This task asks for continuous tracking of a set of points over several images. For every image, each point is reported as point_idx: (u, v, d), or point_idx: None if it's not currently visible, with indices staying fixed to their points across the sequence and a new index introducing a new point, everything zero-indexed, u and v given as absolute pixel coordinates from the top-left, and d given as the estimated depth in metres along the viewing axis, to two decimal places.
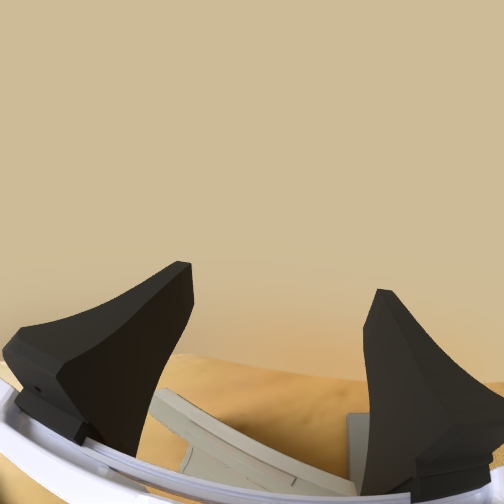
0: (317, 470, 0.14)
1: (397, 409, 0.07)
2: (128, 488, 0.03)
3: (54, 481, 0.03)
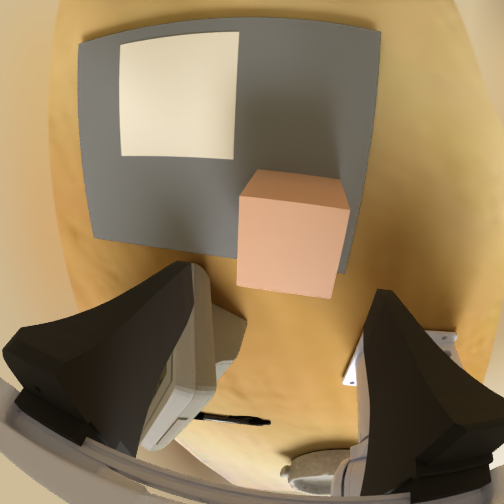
0: (166, 405, 0.16)
1: (397, 409, 0.07)
2: (128, 488, 0.03)
3: (54, 481, 0.03)
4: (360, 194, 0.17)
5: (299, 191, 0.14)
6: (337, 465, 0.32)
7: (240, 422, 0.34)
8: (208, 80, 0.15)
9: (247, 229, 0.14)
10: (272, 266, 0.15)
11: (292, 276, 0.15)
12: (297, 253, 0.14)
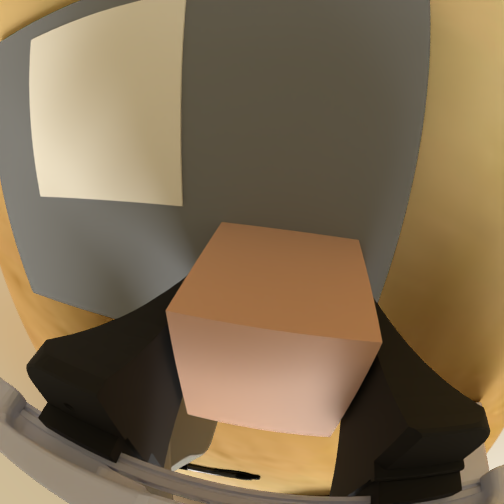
0: None
1: (362, 408, 0.07)
2: (128, 488, 0.03)
3: (54, 481, 0.03)
4: (388, 262, 0.11)
5: (285, 289, 0.08)
6: None
7: (226, 475, 0.27)
8: (138, 76, 0.09)
9: (189, 359, 0.07)
10: (238, 404, 0.08)
11: (271, 416, 0.08)
12: (278, 395, 0.08)
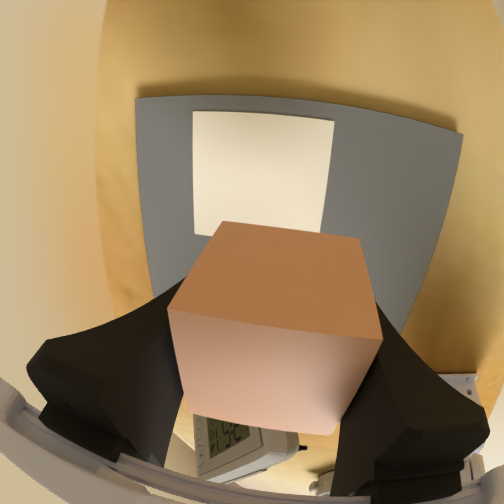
0: (253, 463, 0.17)
1: (362, 408, 0.07)
2: (128, 488, 0.03)
3: (54, 481, 0.03)
4: (422, 280, 0.18)
5: (286, 287, 0.08)
6: None
7: None
8: (298, 170, 0.17)
9: (190, 357, 0.08)
10: (239, 403, 0.08)
11: (272, 414, 0.08)
12: (279, 393, 0.08)
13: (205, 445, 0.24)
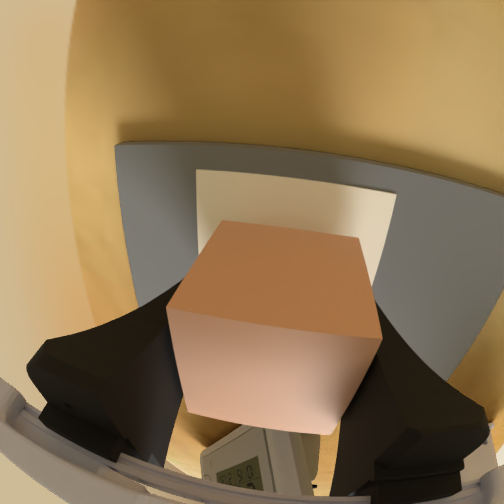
0: None
1: (362, 408, 0.07)
2: (128, 488, 0.03)
3: (54, 481, 0.03)
4: (460, 360, 0.14)
5: (285, 286, 0.08)
6: None
7: None
8: None
9: (190, 356, 0.07)
10: (238, 402, 0.08)
11: (271, 414, 0.08)
12: (279, 393, 0.08)
13: None
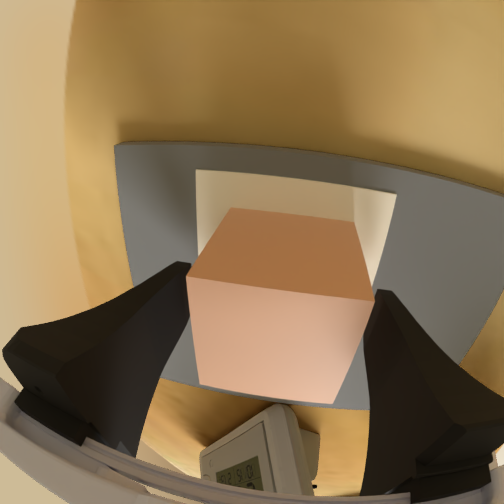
0: None
1: (397, 409, 0.07)
2: (128, 488, 0.03)
3: (54, 481, 0.03)
4: (460, 360, 0.14)
5: (289, 259, 0.09)
6: None
7: None
8: None
9: (205, 323, 0.09)
10: (248, 369, 0.09)
11: (277, 381, 0.09)
12: (285, 357, 0.09)
13: None
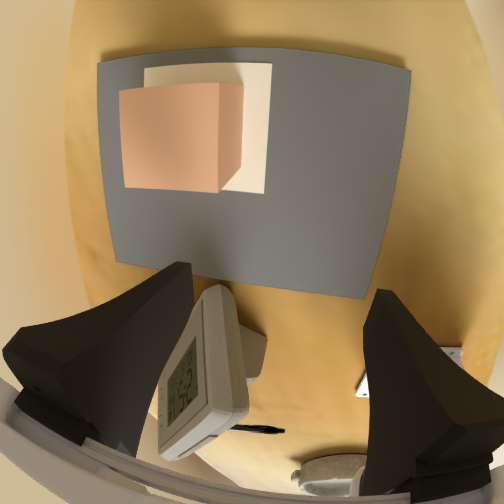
0: (200, 425, 0.16)
1: (397, 409, 0.07)
2: (128, 488, 0.03)
3: (54, 481, 0.03)
4: (383, 228, 0.18)
5: None
6: (346, 469, 0.33)
7: (255, 431, 0.34)
8: None
9: (127, 122, 0.12)
10: (153, 159, 0.13)
11: (173, 167, 0.13)
12: (173, 139, 0.13)
13: (164, 414, 0.23)
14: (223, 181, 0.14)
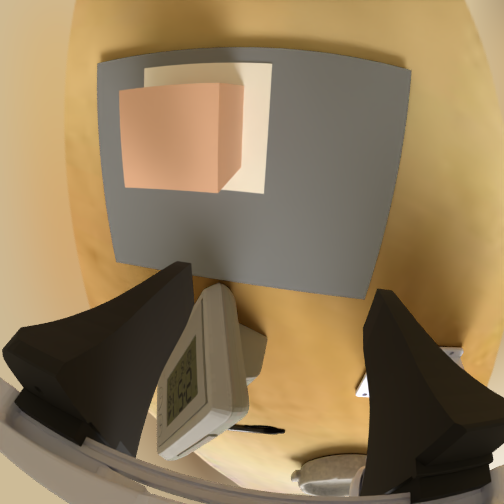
0: (199, 424, 0.16)
1: (397, 409, 0.07)
2: (128, 488, 0.03)
3: (54, 481, 0.03)
4: (383, 228, 0.18)
5: None
6: (346, 469, 0.33)
7: (255, 431, 0.34)
8: None
9: (127, 122, 0.12)
10: (153, 159, 0.13)
11: (173, 167, 0.13)
12: (173, 139, 0.13)
13: (164, 413, 0.23)
14: (223, 181, 0.14)
